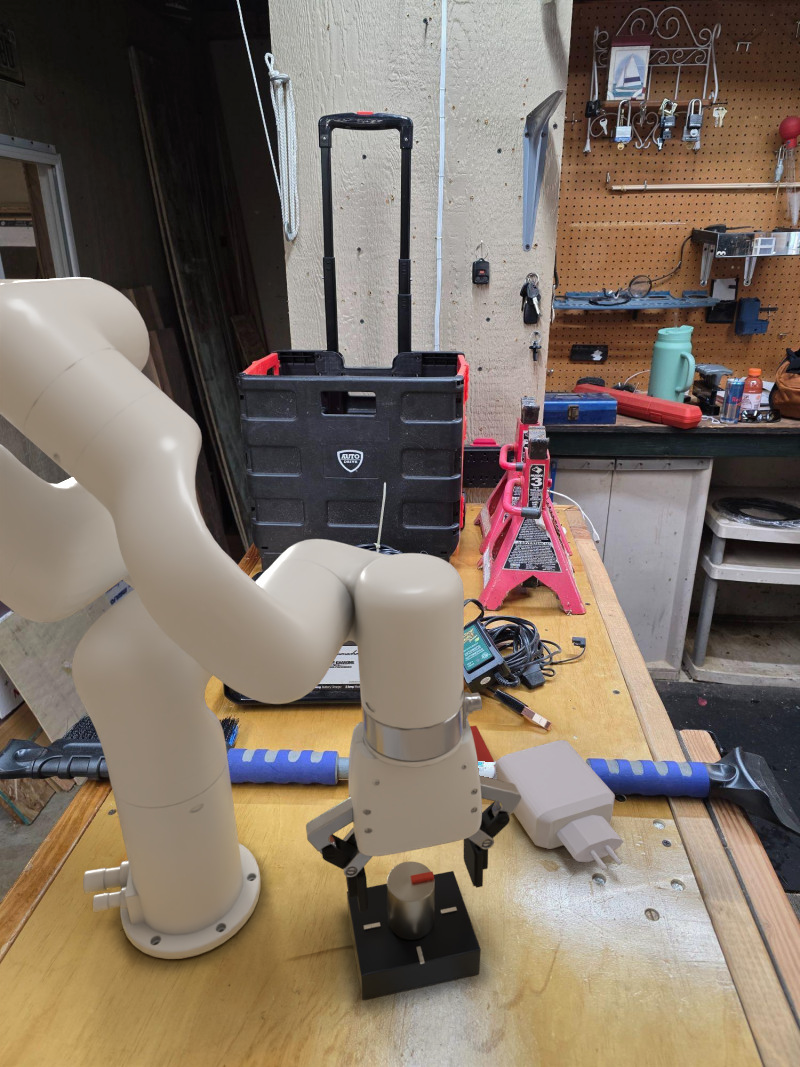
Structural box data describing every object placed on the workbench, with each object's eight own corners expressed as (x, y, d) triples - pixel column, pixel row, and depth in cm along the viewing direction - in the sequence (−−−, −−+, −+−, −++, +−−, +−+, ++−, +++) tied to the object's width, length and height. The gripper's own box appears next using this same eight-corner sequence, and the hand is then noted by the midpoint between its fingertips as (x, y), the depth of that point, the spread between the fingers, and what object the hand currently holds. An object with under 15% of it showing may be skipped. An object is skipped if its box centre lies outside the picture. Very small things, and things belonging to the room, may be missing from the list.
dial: (392, 944, 57) (392, 903, 55) (383, 903, 61) (382, 863, 59) (439, 934, 58) (440, 893, 56) (427, 894, 61) (427, 854, 60)
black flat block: (362, 1001, 56) (361, 975, 55) (347, 913, 63) (346, 888, 62) (479, 975, 58) (481, 949, 57) (452, 892, 65) (453, 868, 64)
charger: (568, 900, 64) (494, 790, 77) (649, 871, 67) (565, 769, 80) (572, 862, 62) (496, 756, 75) (656, 834, 65) (568, 737, 78)
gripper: (505, 672, 56) (500, 831, 63) (292, 705, 53) (310, 869, 59) (542, 730, 49) (532, 901, 56) (300, 772, 46) (319, 949, 53)
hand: (417, 885), depth 58 cm, fingers open, 9 cm apart
